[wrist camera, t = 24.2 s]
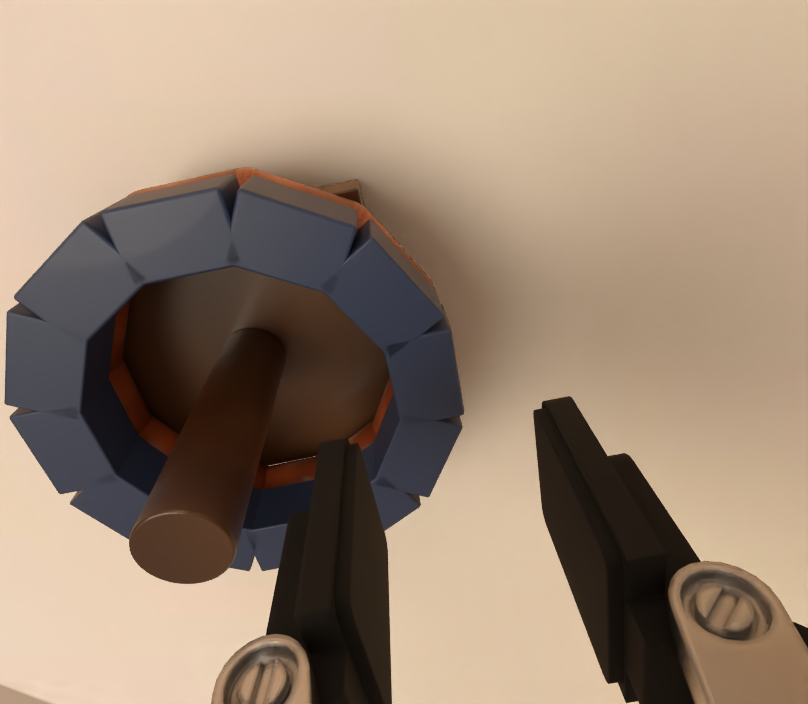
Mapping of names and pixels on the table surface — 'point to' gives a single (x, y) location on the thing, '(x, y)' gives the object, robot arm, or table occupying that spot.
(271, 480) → the rust ring
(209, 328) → the ring stacking peg stand
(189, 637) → the table surface
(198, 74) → the table surface
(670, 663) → the robot arm
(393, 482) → the navy ring
